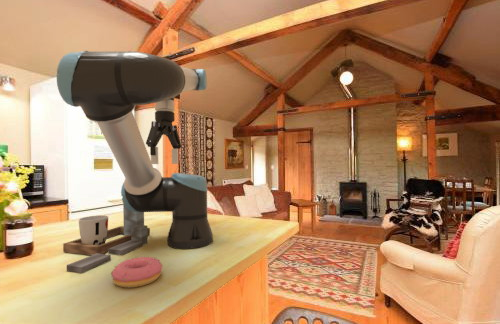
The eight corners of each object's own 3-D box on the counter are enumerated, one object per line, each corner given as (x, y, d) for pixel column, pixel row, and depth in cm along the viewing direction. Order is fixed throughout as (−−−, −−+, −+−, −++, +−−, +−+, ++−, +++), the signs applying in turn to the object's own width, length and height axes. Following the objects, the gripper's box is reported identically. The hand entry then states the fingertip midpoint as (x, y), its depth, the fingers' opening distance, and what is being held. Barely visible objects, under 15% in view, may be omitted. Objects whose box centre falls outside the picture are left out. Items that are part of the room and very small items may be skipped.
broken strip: (148, 243, 89) (148, 225, 89) (81, 273, 65) (81, 249, 65) (136, 242, 91) (136, 224, 91) (66, 271, 67) (66, 247, 67)
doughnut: (167, 282, 60) (167, 264, 60) (113, 296, 54) (113, 275, 54) (156, 266, 69) (156, 251, 69) (109, 277, 64) (109, 259, 64)
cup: (94, 254, 79) (94, 221, 79) (72, 252, 81) (72, 220, 81) (114, 246, 87) (114, 215, 87) (93, 244, 89) (93, 214, 89)
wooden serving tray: (152, 233, 101) (151, 202, 101) (97, 255, 77) (96, 214, 77) (123, 231, 105) (123, 201, 105) (63, 251, 81) (62, 212, 81)
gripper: (174, 117, 120) (174, 163, 120) (135, 106, 96) (135, 164, 96) (188, 116, 118) (189, 163, 118) (152, 104, 94) (153, 164, 94)
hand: (165, 164), depth 107 cm, fingers open, 13 cm apart
